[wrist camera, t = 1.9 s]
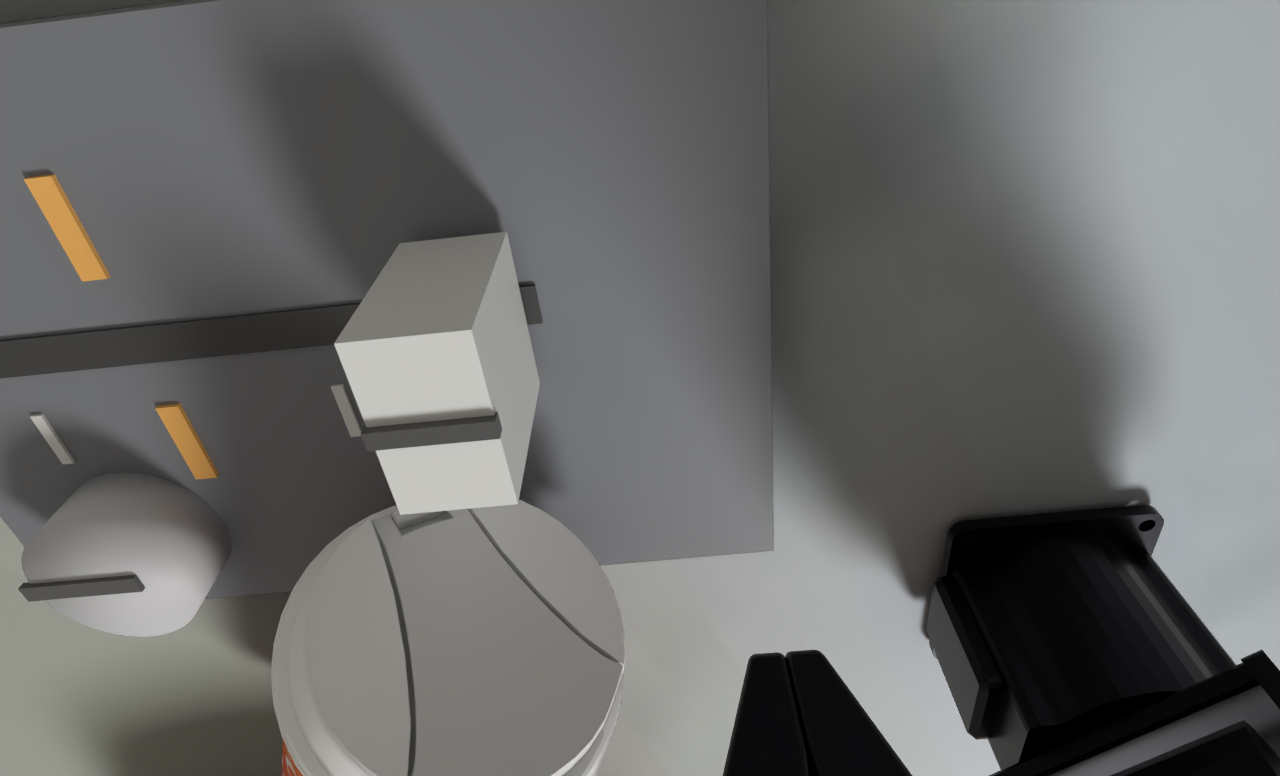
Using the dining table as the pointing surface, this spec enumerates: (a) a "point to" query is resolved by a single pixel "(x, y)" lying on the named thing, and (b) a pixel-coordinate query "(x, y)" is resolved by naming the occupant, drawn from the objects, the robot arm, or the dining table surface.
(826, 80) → the dining table surface
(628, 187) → the console
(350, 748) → the coffee cup
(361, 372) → the fader
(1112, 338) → the dining table surface
